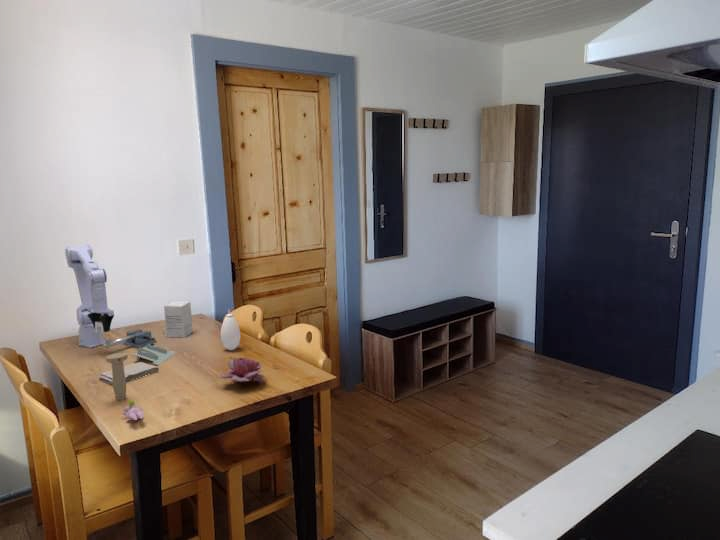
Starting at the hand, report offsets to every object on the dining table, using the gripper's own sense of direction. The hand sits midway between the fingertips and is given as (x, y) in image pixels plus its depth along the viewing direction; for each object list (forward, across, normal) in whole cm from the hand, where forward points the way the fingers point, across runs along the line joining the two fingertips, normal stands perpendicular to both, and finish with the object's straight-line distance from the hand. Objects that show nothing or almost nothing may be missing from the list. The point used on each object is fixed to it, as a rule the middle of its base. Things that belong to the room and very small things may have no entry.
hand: (102, 330), depth 224 cm
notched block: (+1, 0, 0) cm, 1 cm away
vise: (+10, +5, +9) cm, 14 cm away
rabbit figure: (+10, +64, -35) cm, 73 cm away
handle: (+10, +47, -28) cm, 55 cm away
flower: (+10, +76, +1) cm, 76 cm away
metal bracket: (+10, +24, +5) cm, 27 cm away
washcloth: (+10, +31, -12) cm, 35 cm away
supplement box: (+10, +8, +33) cm, 36 cm away
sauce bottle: (+10, +45, +28) cm, 54 cm away
